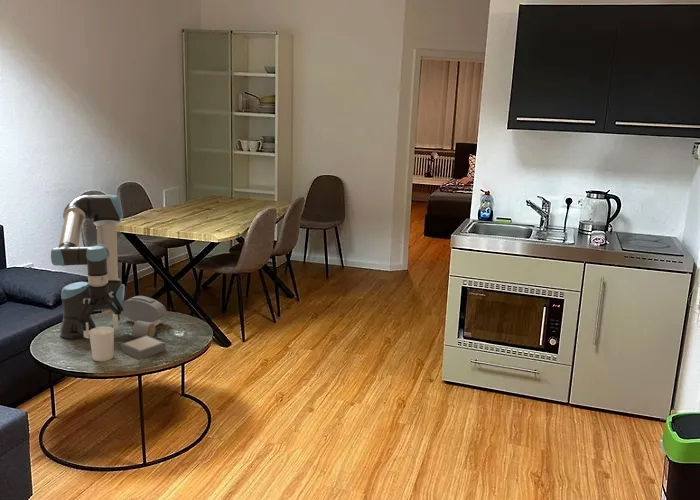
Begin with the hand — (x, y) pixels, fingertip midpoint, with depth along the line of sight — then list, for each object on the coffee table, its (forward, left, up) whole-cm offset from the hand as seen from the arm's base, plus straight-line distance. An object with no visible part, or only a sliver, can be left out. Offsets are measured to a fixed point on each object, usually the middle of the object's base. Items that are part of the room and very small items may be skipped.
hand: (101, 333), depth 258 cm
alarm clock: (-22, +36, -11) cm, 44 cm away
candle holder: (0, 0, -11) cm, 11 cm away
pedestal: (+7, +15, -11) cm, 20 cm away
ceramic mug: (-7, +26, -11) cm, 29 cm away
